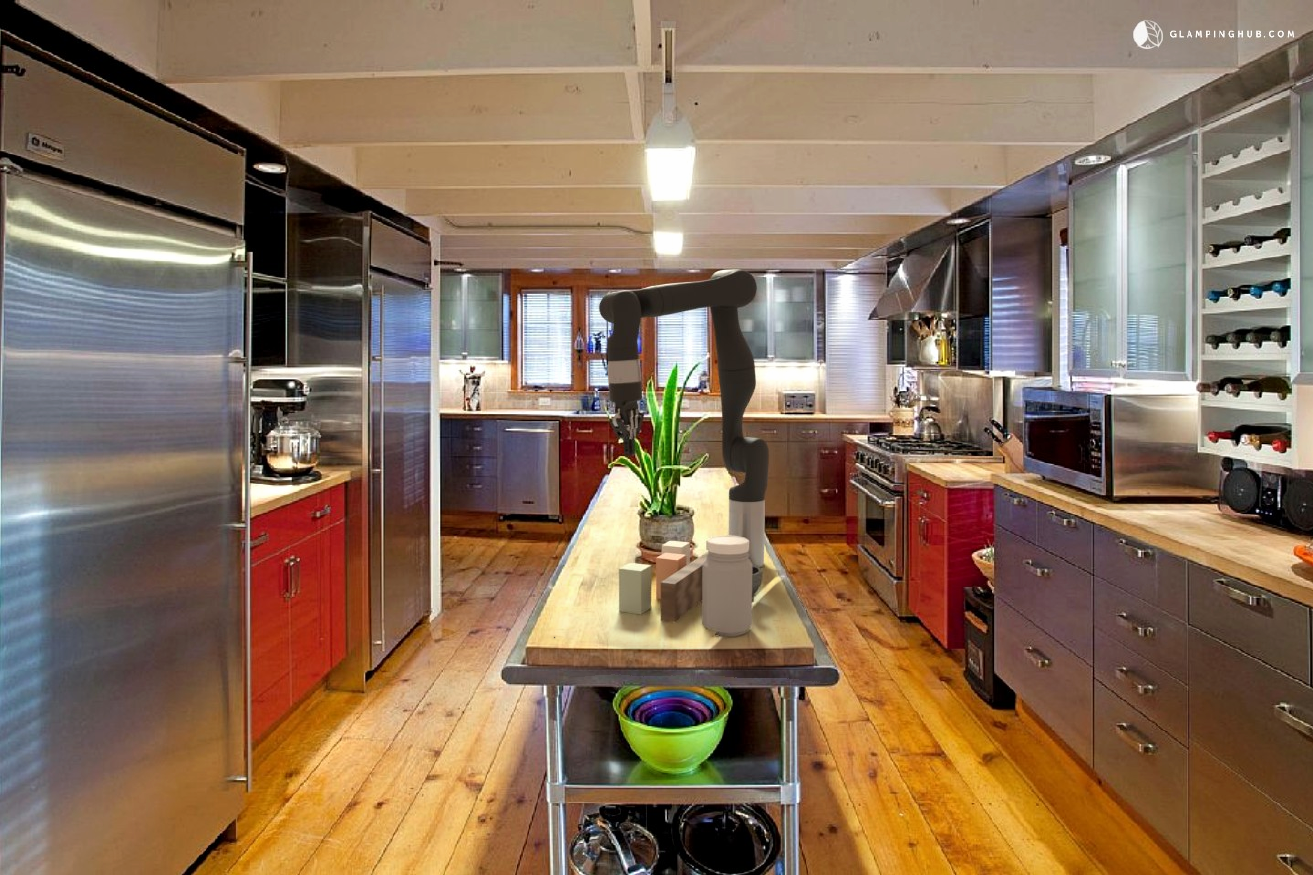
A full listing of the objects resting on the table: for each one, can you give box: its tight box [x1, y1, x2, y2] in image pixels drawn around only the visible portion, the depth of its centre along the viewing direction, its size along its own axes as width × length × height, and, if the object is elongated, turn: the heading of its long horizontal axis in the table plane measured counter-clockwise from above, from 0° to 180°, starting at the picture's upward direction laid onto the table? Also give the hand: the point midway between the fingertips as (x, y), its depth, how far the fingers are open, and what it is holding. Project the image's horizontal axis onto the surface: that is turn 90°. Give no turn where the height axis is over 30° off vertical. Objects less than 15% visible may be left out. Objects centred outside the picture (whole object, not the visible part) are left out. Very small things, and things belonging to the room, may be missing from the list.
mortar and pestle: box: [748, 556, 763, 603], centre depth 169 cm, size 11×9×12 cm
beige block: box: [661, 540, 691, 566], centre depth 179 cm, size 5×5×9 cm
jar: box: [701, 534, 753, 638], centre depth 151 cm, size 10×10×18 cm
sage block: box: [618, 562, 652, 615], centre depth 159 cm, size 5×5×9 cm
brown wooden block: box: [660, 551, 708, 623], centre depth 169 cm, size 30×18×9 cm, turn 156°
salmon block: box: [655, 553, 686, 600], centre depth 168 cm, size 5×5×9 cm
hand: (629, 455), depth 177 cm, fingers closed
